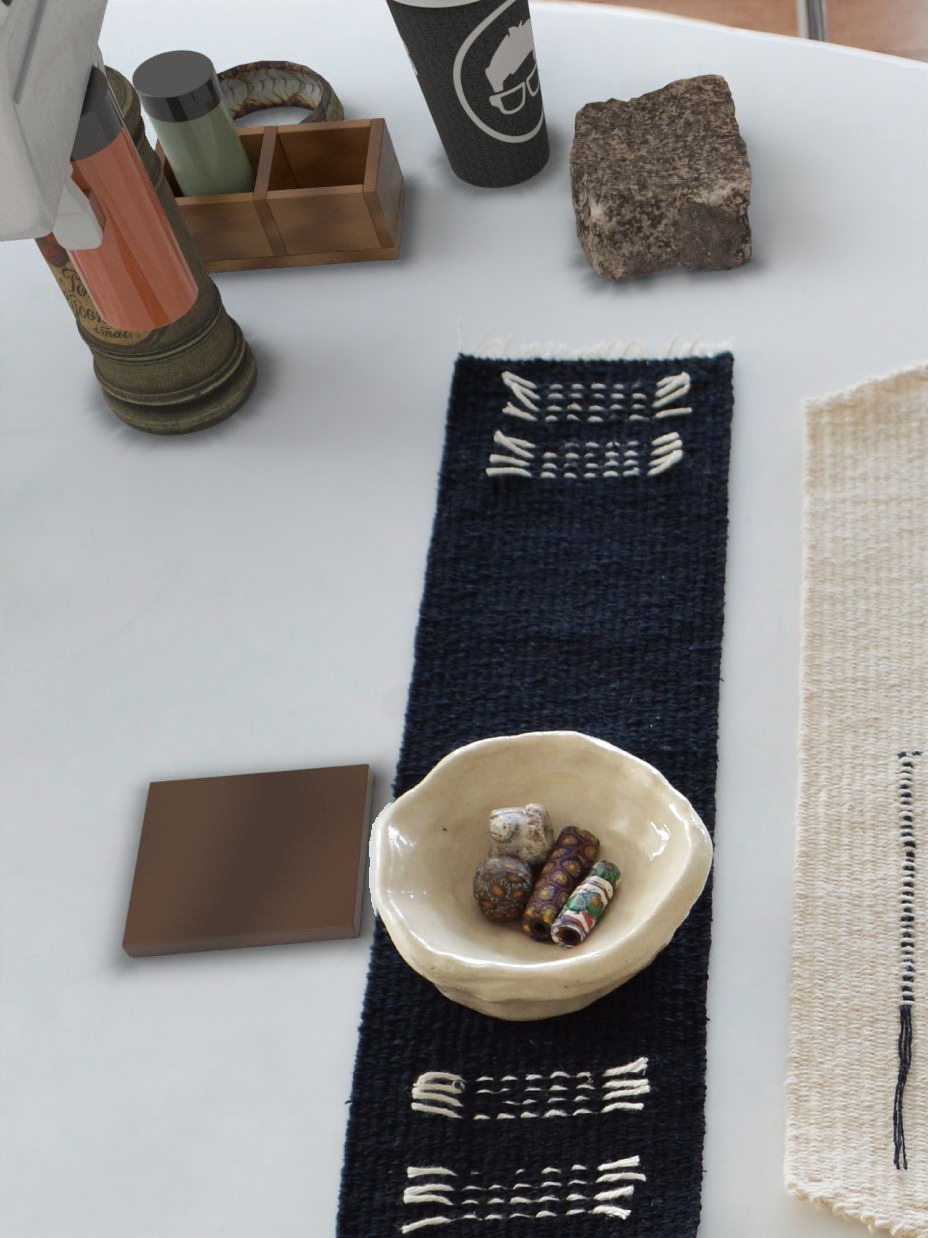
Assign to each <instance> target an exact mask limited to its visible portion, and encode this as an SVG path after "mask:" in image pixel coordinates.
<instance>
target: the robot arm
mask: <svg viewBox="0 0 928 1238" xmlns="http://www.w3.org/2000/svg"><path fill="white" fill-rule="evenodd" d="M108 2H109V0H0V242H10V241H22V240H31V239H34V238H40V237H44V236H47V235H48V234H50V233H51V232H53V234H54V236H55V238H56V240H57V241H58V243H59V244H60V245H61V246H62V247H63V248H65V249H68V250H71V251H72V250H85V249H96V248H98V247H100V245H101V244H102V239H103V234H104V228H105V223H106V218H105V215H104V213H103V212H102V211H101V210H100V206H99V203H98V201H97V199H96V197H95V195H94V192H93V190H92V189H91V190H81V189H80V188H79V187H78V186H77V185H76V183H75V182H74V181H73V180H72V178H71V176H72V172H73V167H72V165H71V162H70V157H71V153H72V149H73V144H74V140H75V136H76V132H77V128H78V124H79V119H80V115H81V111H82V107H83V103H84V99H85V94H86V90H87V86H88V82H89V78H90V74H91V69H92V65H94V66H96V67H97V68H99V69H100V70H101V71H102V72H103V73H104V74H105V75H106V72H105V67H104V65H105V63H104V57H103V53H102V50H101V48H100V46H99V39H100V36H101V31H102V27H103V23H104V19H105V14H106V10H107V7H108Z"/></svg>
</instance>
